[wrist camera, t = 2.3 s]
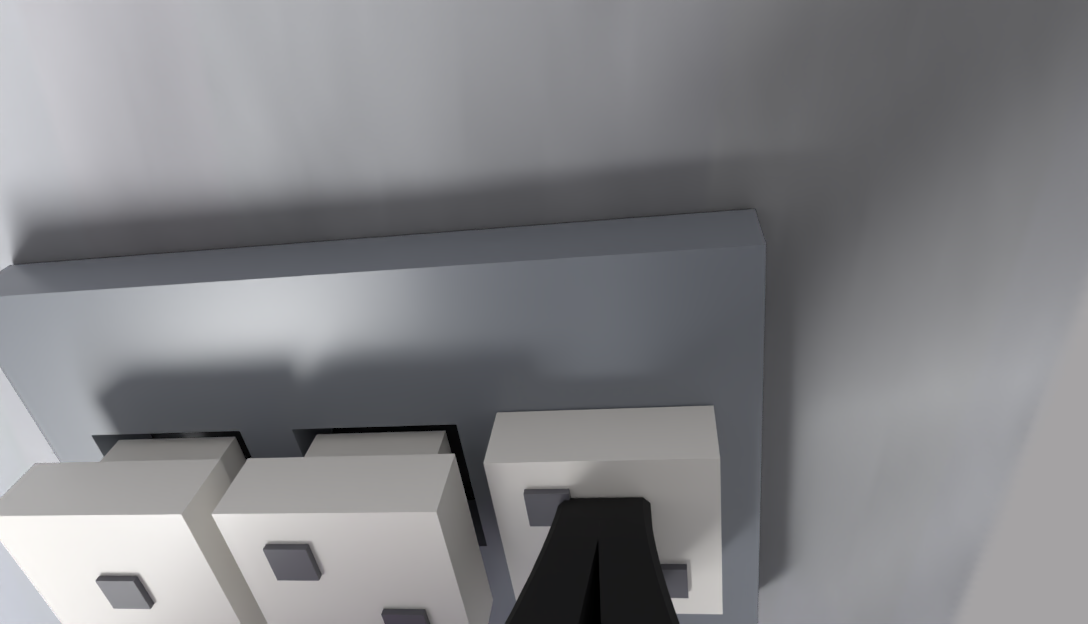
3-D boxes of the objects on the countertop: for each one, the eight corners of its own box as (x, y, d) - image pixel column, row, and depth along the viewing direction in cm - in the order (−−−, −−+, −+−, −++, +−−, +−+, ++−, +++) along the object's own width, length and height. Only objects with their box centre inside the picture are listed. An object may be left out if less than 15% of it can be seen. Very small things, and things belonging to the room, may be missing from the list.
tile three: (711, 507, 14) (723, 620, 12) (535, 508, 15) (517, 616, 13) (707, 361, 13) (721, 463, 10) (508, 369, 13) (482, 468, 11)
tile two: (503, 546, 14) (479, 668, 12) (334, 547, 15) (282, 662, 13) (470, 404, 12) (434, 517, 10) (278, 411, 13) (207, 519, 11)
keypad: (749, 597, 16) (756, 649, 15) (197, 592, 18) (170, 636, 17) (755, 208, 11) (766, 244, 10) (9, 265, 13) (-44, 298, 12)
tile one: (311, 547, 15) (255, 662, 13) (155, 547, 15) (78, 657, 13) (252, 412, 13) (177, 519, 11) (79, 418, 14) (-24, 521, 12)
